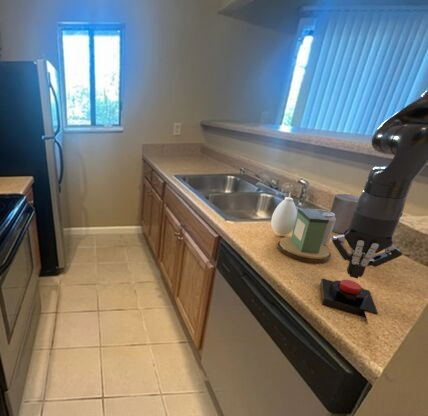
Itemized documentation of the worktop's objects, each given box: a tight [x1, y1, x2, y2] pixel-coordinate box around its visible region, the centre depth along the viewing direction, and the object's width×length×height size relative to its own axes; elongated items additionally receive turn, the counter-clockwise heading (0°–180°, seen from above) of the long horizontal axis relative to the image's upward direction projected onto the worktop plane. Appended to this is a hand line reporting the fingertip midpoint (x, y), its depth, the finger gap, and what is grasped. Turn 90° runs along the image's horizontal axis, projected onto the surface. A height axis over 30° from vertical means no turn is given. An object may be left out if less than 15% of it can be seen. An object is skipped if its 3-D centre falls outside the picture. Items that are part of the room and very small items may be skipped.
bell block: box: [319, 278, 379, 319], centre depth 71 cm, size 10×10×4 cm
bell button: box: [339, 279, 362, 294], centre depth 70 cm, size 4×4×2 cm
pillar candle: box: [329, 193, 361, 235], centre depth 108 cm, size 10×10×15 cm
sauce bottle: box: [270, 190, 298, 237], centre depth 104 cm, size 8×8×18 cm
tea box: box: [279, 207, 331, 259], centre depth 92 cm, size 14×14×13 cm
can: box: [316, 209, 336, 246], centre depth 99 cm, size 8×8×12 cm
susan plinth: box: [276, 240, 332, 265], centre depth 94 cm, size 15×15×2 cm
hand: (353, 276), depth 69 cm, fingers closed
